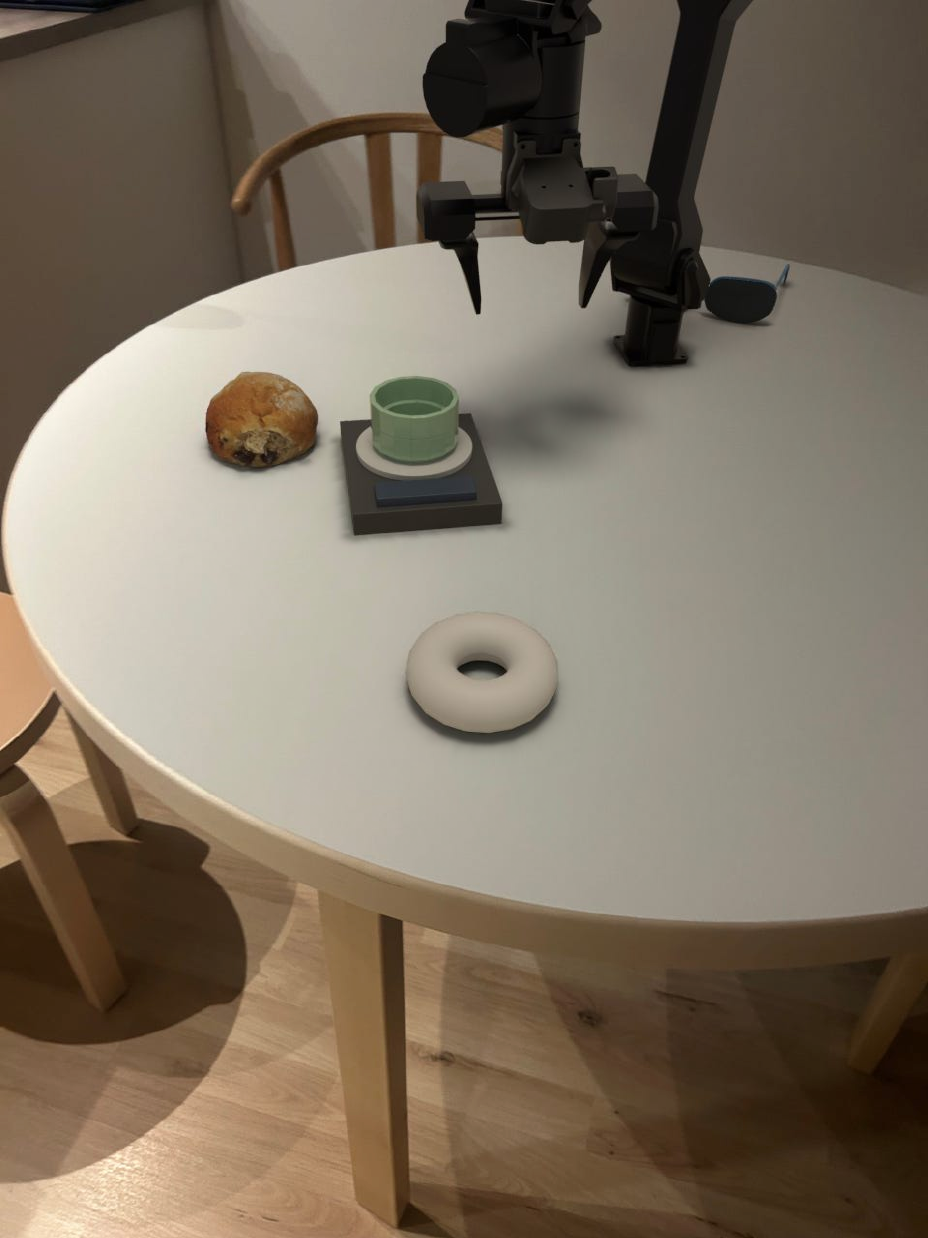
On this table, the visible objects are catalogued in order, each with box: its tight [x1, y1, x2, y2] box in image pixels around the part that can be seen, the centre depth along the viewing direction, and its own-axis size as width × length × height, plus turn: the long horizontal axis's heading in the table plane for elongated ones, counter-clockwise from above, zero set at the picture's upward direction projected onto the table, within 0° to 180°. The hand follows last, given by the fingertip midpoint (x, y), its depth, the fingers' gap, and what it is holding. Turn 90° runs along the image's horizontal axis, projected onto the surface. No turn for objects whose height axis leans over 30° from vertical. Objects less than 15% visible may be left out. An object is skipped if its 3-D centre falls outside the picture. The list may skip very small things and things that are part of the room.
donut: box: [404, 610, 559, 734], centre depth 62 cm, size 10×4×10 cm
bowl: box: [369, 375, 460, 463], centre depth 81 cm, size 7×7×4 cm
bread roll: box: [204, 371, 319, 468], centre depth 86 cm, size 10×10×8 cm
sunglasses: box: [703, 263, 791, 324], centre depth 115 cm, size 17×15×5 cm
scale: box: [339, 412, 503, 536], centre depth 82 cm, size 15×12×3 cm
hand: (530, 309), depth 82 cm, fingers open, 9 cm apart
